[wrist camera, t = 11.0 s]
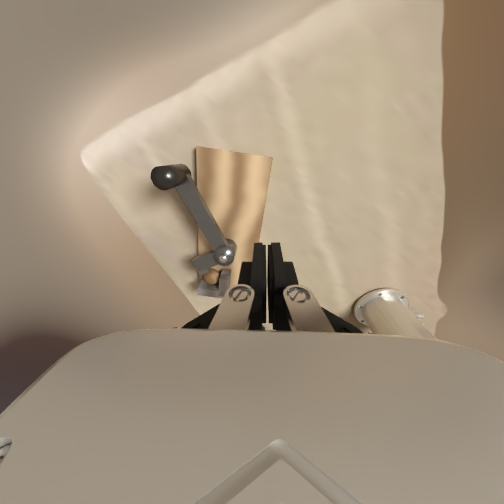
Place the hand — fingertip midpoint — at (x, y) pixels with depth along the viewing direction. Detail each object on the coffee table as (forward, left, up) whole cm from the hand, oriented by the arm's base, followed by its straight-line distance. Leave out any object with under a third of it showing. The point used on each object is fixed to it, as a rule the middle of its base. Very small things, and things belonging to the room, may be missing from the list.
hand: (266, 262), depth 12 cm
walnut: (+9, +19, -24) cm, 32 cm away
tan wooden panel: (+6, +9, -25) cm, 27 cm away
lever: (+12, +7, -24) cm, 28 cm away
